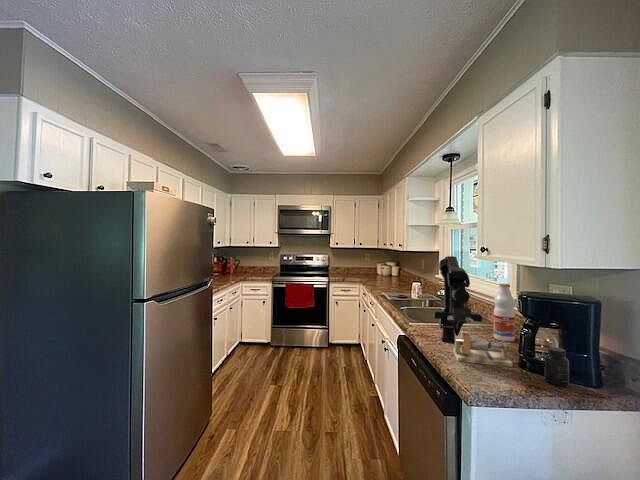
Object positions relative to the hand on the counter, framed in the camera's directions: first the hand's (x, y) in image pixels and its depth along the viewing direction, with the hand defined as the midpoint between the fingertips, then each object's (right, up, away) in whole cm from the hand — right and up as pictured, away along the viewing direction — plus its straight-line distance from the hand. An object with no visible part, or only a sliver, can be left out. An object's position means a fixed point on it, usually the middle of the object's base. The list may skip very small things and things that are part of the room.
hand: (456, 335), depth 133 cm
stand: (+9, -9, -3) cm, 13 cm away
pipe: (+9, -4, -3) cm, 10 cm away
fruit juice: (+35, -10, +25) cm, 45 cm away
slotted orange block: (+3, -6, -1) cm, 7 cm away
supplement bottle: (+24, -9, -25) cm, 36 cm away
